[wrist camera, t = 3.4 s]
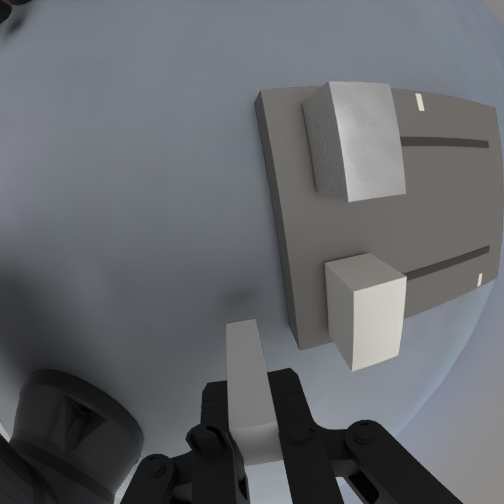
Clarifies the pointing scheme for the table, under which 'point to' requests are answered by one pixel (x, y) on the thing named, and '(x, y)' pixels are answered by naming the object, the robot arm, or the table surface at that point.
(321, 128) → the fader
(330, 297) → the fader
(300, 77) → the table surface
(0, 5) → the milk frother
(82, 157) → the table surface
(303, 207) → the slider panel
